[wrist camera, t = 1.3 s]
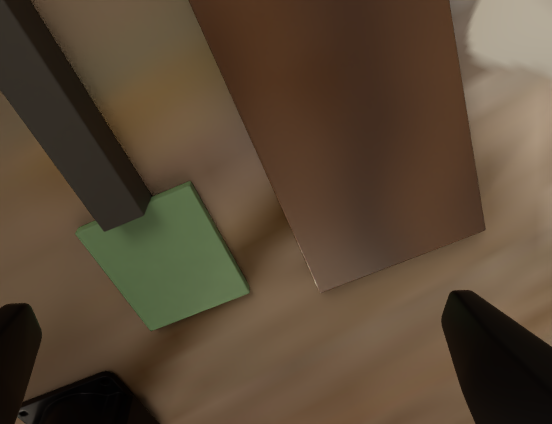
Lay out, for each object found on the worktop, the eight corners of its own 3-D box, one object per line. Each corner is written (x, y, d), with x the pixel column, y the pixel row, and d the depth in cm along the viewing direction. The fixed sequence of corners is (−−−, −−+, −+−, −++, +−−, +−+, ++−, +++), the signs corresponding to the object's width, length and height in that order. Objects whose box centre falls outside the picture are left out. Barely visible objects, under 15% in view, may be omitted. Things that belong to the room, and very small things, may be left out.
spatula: (249, 286, 22) (251, 311, 21) (152, 324, 23) (146, 351, 21) (58, -57, 14) (35, -64, 13) (-85, 13, 15) (-126, 16, 13)
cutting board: (314, 276, 23) (320, 294, 21) (115, -172, 13) (103, -191, 12) (470, 216, 22) (486, 230, 20) (378, -307, 12) (395, -342, 11)
